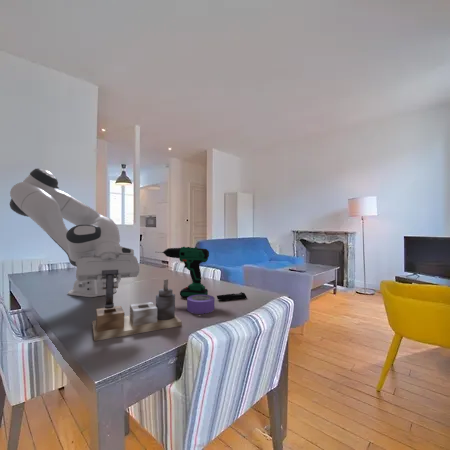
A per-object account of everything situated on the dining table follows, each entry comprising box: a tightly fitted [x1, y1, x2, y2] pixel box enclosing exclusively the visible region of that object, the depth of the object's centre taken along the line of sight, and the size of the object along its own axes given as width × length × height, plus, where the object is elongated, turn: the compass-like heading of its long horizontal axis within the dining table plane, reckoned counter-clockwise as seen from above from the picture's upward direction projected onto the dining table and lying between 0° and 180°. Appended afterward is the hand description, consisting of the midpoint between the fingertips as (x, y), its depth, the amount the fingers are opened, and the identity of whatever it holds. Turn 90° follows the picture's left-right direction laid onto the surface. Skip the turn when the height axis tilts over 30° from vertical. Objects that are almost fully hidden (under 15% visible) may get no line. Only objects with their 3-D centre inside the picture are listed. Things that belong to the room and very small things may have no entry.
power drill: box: [156, 246, 210, 299], centre depth 131 cm, size 6×29×25 cm, turn 79°
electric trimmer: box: [216, 291, 248, 301], centre depth 128 cm, size 4×16×3 cm, turn 114°
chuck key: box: [102, 270, 118, 309], centre depth 88 cm, size 5×3×13 cm, turn 118°
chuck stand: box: [92, 278, 183, 342], centre depth 93 cm, size 28×14×16 cm, turn 119°
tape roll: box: [186, 294, 216, 315], centre depth 112 cm, size 12×12×5 cm
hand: (109, 288), depth 88 cm, fingers closed on chuck key, 2 cm apart
